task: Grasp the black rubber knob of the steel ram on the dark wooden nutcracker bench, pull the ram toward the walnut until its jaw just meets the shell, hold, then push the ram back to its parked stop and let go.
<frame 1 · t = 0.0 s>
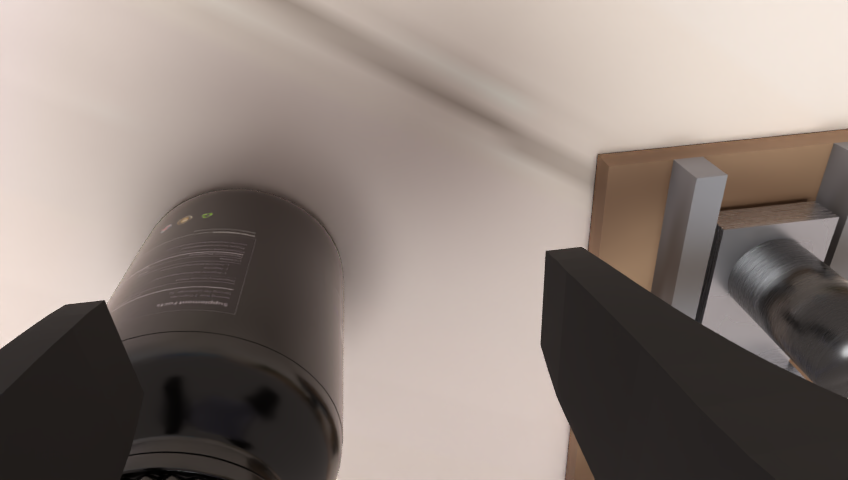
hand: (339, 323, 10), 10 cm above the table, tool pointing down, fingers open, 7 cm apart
supplement bottle: (248, 264, 21), on the table
ram: (785, 339, 20), point 4 cm above the table, slide at 2.0 cm
bench: (698, 355, 26), on the table
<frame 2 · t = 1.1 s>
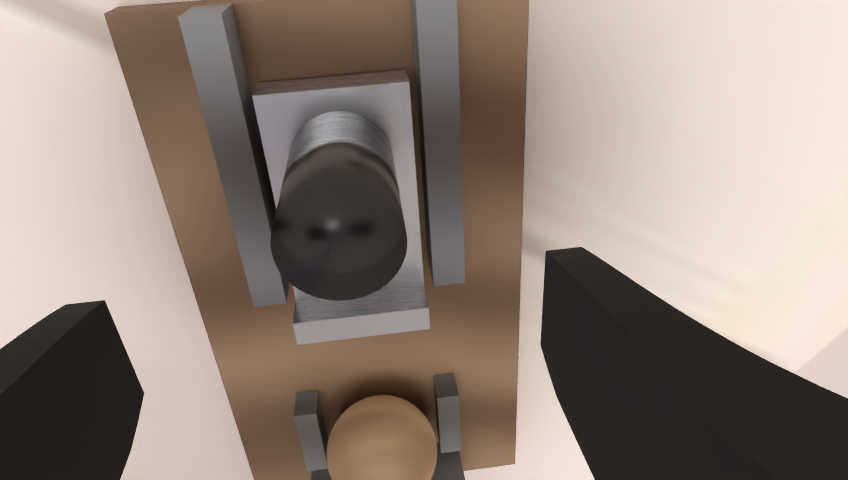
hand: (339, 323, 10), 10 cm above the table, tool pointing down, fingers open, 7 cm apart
ram: (349, 242, 15), point 4 cm above the table, slide at 2.0 cm
bench: (364, 287, 21), on the table
walnut: (379, 410, 23), point 1 cm above the table, touching bench
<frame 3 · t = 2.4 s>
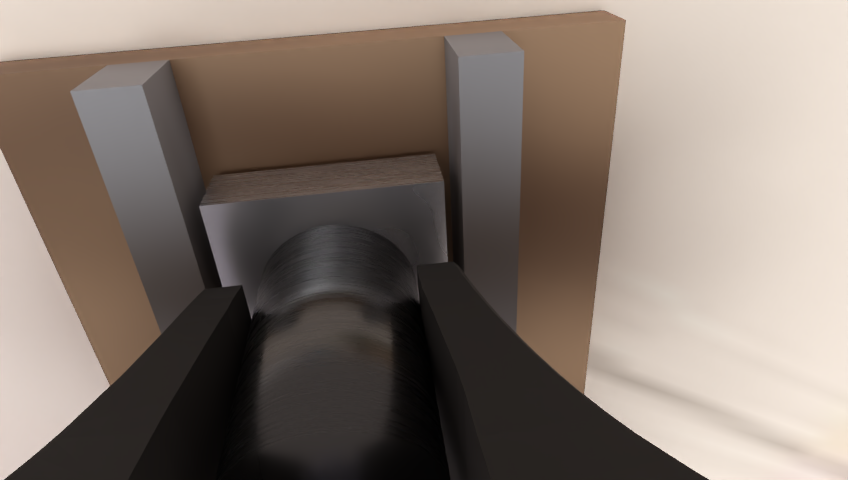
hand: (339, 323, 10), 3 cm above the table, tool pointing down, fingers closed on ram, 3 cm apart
ram: (350, 424, 10), point 4 cm above the table, slide at 2.0 cm, touching gripper
bench: (370, 417, 16), on the table
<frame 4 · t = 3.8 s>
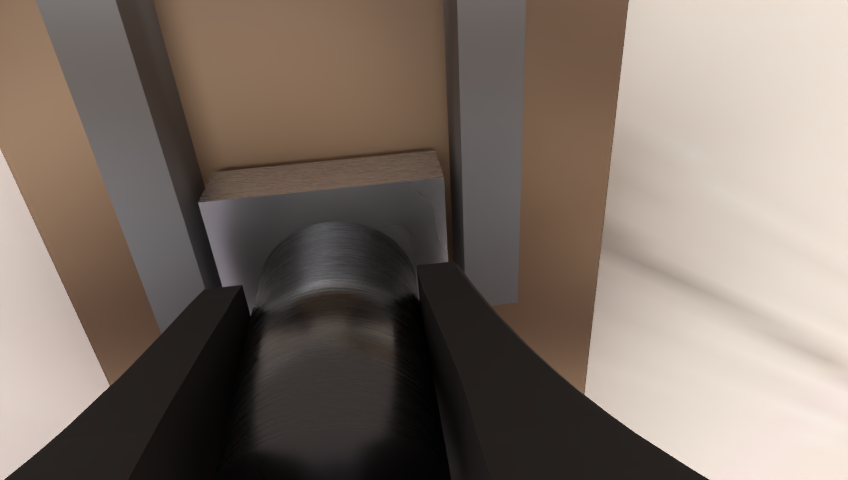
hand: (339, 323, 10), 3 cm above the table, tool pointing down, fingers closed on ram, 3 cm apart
ram: (350, 421, 10), point 4 cm above the table, slide at 5.7 cm, touching gripper
bench: (353, 306, 14), on the table
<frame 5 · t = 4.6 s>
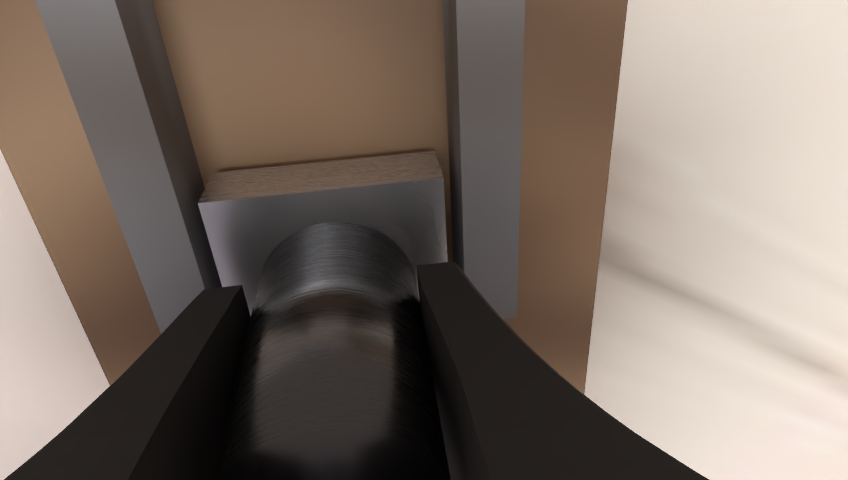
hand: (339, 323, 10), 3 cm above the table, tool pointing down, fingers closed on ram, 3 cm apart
ram: (350, 421, 10), point 4 cm above the table, slide at 5.4 cm, touching gripper
bench: (355, 318, 14), on the table
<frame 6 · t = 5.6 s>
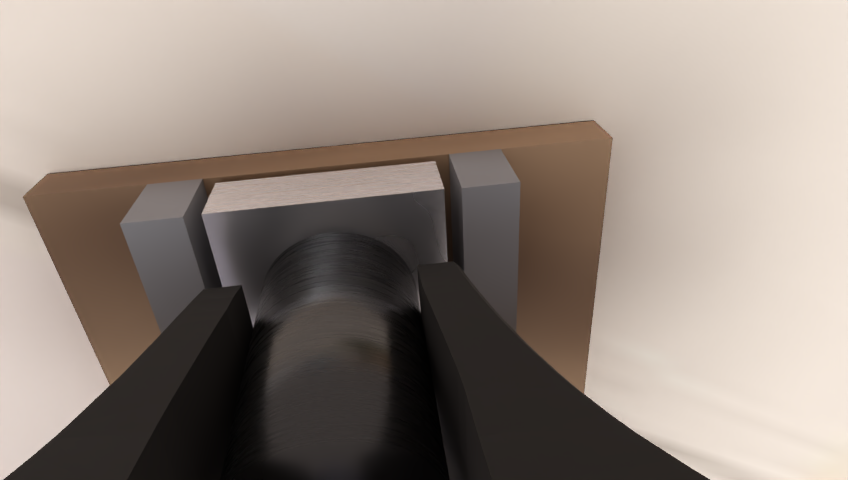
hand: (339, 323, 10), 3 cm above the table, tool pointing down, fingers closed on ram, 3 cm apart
ram: (351, 429, 10), point 4 cm above the table, slide at 0.0 cm, touching gripper
bench: (378, 470, 17), on the table
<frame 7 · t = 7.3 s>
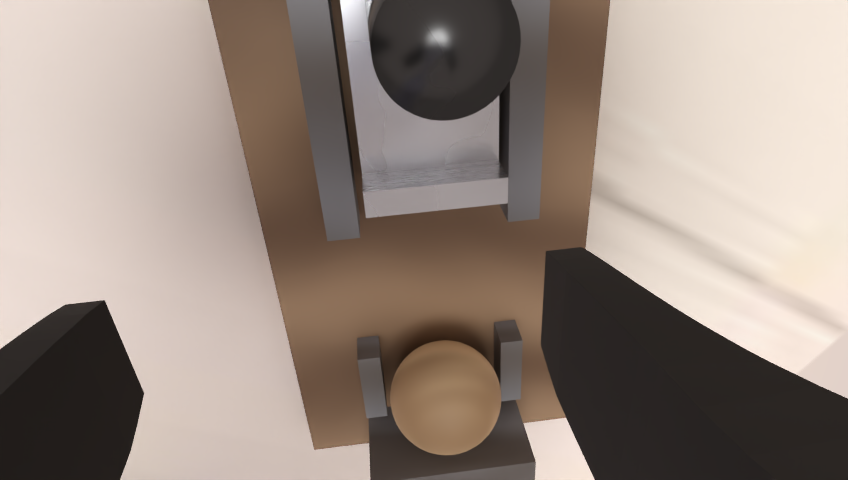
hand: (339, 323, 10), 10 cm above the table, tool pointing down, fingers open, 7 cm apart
ram: (432, 88, 14), point 4 cm above the table, slide at 0.0 cm
bench: (428, 231, 21), on the table
walnut: (438, 358, 23), point 1 cm above the table, touching bench
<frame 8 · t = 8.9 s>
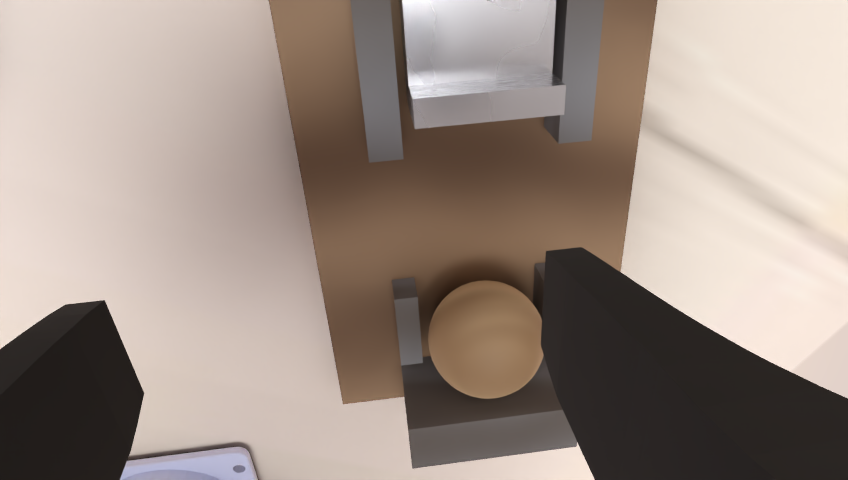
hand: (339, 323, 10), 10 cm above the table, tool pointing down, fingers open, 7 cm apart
bench: (467, 164, 20), on the table
walnut: (475, 303, 22), point 1 cm above the table, touching bench
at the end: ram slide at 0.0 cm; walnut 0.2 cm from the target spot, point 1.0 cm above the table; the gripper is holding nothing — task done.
